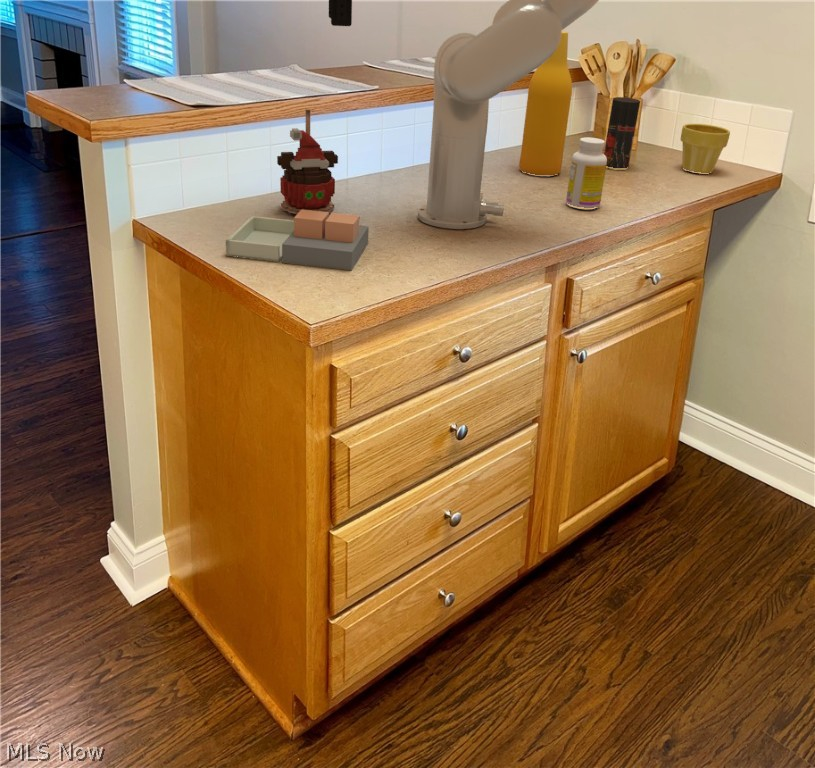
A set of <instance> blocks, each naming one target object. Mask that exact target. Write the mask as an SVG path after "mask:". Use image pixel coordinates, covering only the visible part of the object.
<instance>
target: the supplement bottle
mask: <svg viewBox="0 0 815 768" xmlns="http://www.w3.org/2000/svg"><path fill="white" fill-rule="evenodd" d="M605 144H606V140H604V139H601V138H596V137H589V136H588V137H581V138H580V139H579V143H578V146H579V150H578V151H575V152H574V153H573V154H572V157H571V163H570V172H569V178H568V185H567V193H566V201H565V203H566V202H567V203H568V204H570V205H573V206H577V207H584V208H594V207H598V206H599V207H600V206H601V201H602V195H603V187H604V183H605V176H606V171H607V169H606V164H607V158H606V156H605V155H604V153H603V150H604V149H605ZM567 203H566V204H567ZM599 207H598V208H599Z"/></svg>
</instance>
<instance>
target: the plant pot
mask: <svg viewBox="0 0 815 768" xmlns="http://www.w3.org/2000/svg"><path fill="white" fill-rule="evenodd" d="M730 135H731V131H730V130H729V129H727V128H724V127H721V126H717V125H712V124H704V123H703V124H702V123H685V124H683V125H682V129H681V134H680V142H682V158H681V159H682V162H681V163H682V166H681V167H683V168H684V169H686V170H689V171H694V172H701V173H710V172H712V173H713V171H714V169H715V168H716V164H717V163H718V160H719V158H720V156H721V153H722V151H723V149H724V148H726V147H727V146H728V143H729V139H730ZM683 168H682V169H683Z"/></svg>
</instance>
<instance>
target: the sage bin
mask: <svg viewBox="0 0 815 768" xmlns="http://www.w3.org/2000/svg"><path fill="white" fill-rule="evenodd" d="M293 231H294V219H284V218H283V219H282V218H273V217H266V216H265V217H264V216H255V215H251V216H250V217H249V218H248V219H246V221H245V222H243V224H242V225H240V226H239V227H238V228H237V229H236V230H234V232H233V233H231V235H230V236H229V237H228V238H227V239H226V240H225V255H227V256H226V257H228V256H236V257H235V258H237V256H238V257H245V258H244V259H246V258H252V259H251V260H254V259H259V260H258V261H263V260H265V261H264V262H272V261H273V263H274V262H275V263H279V262H280V261H282V244H283V243H284V241H285V240H286V239H287V238H288V237H289V236H290V235H291V233H292V232H293Z"/></svg>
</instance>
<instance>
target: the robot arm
mask: <svg viewBox="0 0 815 768" xmlns="http://www.w3.org/2000/svg"><path fill="white" fill-rule="evenodd" d="M599 1H600V0H508V1H506V2H505V3H503V5H501V6H500V8H499V9H498V10H497V12H496V13H495V14H494V16H493V20H492V23H491V25H490V26H488V27H487V28H485V29H483V30H482V31H481V32H479V33H478V34H476V35H475V34H473V33H468V32H460V33H457V34H453V35H451V36H449V37H448V38H447V39H445V40H444V41H443V42H442V44H441V45H440V47H439V48H438V51H437V53H436V55H435V59H434V68H433V110H432V125H431V127H432V128H431V140H430V150H429V151H430V153H429V155H430V156H429V170H428V181H427V182H428V183H427V184H428V185H427V197H426V204H424V205H421V206H420V207H418V209H417V218H418V219H419V220H420V222H423V224H427V225H428V226H433V227H437V228H441V229H449V230H450V229H451V230H466V229H468V230H469V229H474V228H479V227H481V226H483V225H484V224H485V223H486V222H487V218H488V216H487V215H492V216H497V217H503V216H504V209H505V205H502V204H499V202H497V201H486V199H483V197H484V196H483V195H484V193H483V192H481V190H482V180H483V171H484V170H483V169H484V161H485V160H484V159H485V152H486V151H485V149H486V142H487V130H488V122H489V107H490V105H489V103H490V99H492V98H494V97H495V96H497V95H498V94H500V93H502V92H503V91H505V90H506V89H507V88H509V87H511V86H512V85H514V84H516V82H518V81H521V80H522V79H523V78H524V77H525V76H527V75H529V74H531V72H534V71H536V69H537V68H538V67H539V66H541V65H542V64H543V63H544V62H546V61H547V60H548V59H549V58H550V57H551V55H552V54H553V53H554V52H555V50H556V49H557V47H558V45H559V42H560V39H561V33H562V31H564V29H566V28H567V27H569V26H570V25H571V24H572V23H574V22H575V21H577V20H578V19H579V18H581V17H582V16H583V15H585V14H586V13H588V11H590V10H591V9H592V8H593V7H594V6H595V5H596V4H597V3H598V2H599ZM352 10H353V0H328V18H329V19H330V24H331V26H333V27H335V26H336V27H351V26H352V22H353V21H352V19H353V15H352V14H353V11H352Z"/></svg>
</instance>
